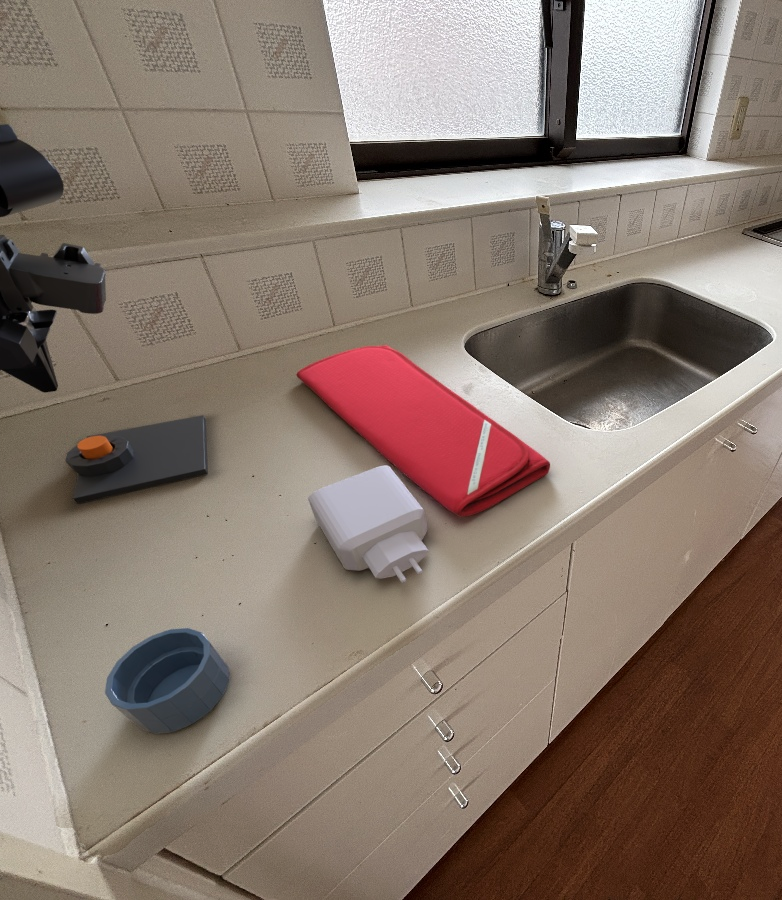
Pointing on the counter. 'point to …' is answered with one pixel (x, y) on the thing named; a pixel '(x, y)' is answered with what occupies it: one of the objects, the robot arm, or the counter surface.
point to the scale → (142, 459)
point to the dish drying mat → (425, 428)
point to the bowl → (168, 680)
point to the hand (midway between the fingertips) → (51, 390)
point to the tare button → (95, 447)
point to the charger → (372, 523)
